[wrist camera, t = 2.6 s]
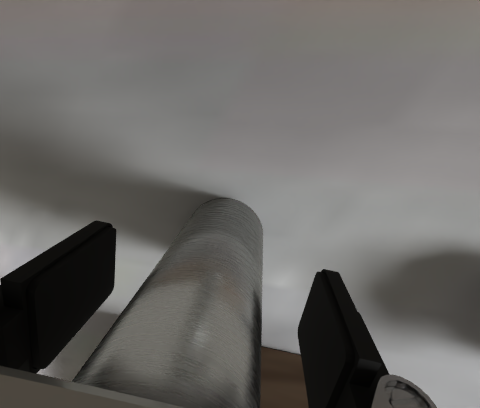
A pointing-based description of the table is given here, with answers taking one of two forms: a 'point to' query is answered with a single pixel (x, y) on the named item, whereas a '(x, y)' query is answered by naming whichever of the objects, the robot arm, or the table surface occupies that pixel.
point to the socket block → (282, 380)
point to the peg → (193, 319)
